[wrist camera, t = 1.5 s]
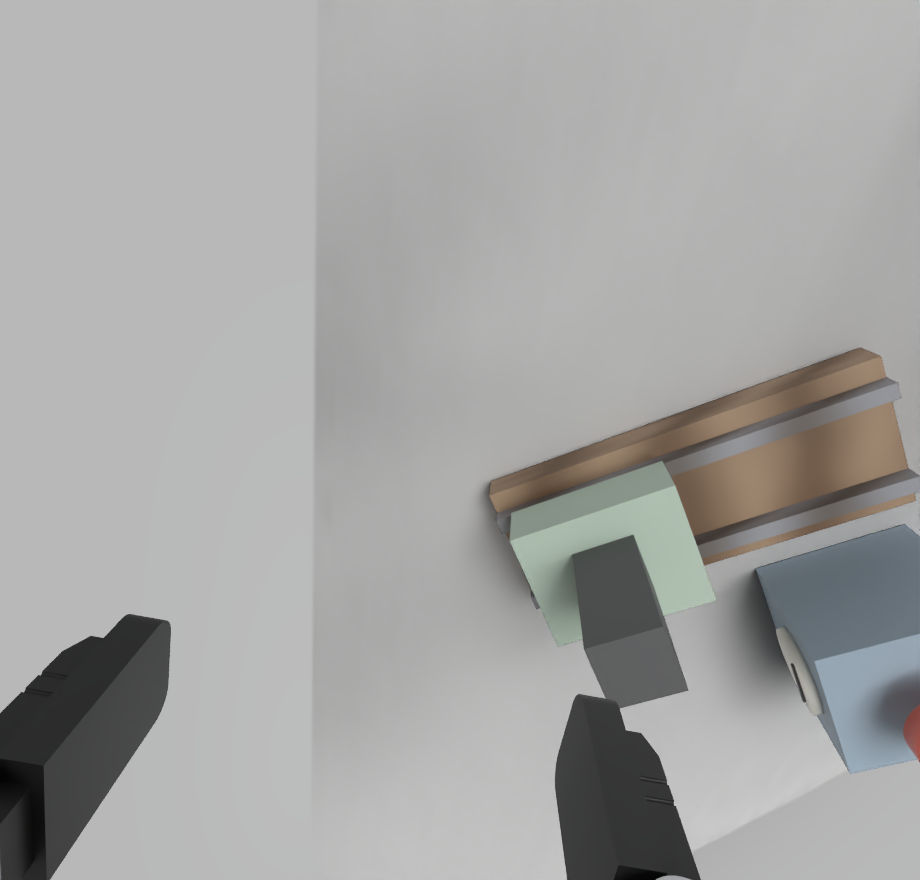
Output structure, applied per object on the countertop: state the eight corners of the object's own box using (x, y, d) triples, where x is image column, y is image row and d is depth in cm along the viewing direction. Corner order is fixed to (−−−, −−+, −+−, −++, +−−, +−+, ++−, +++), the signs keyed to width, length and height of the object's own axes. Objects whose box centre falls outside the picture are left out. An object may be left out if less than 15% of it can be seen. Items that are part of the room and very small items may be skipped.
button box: (904, 524, 35) (1008, 610, 27) (930, 626, 37) (1033, 733, 29) (746, 571, 37) (802, 664, 29) (778, 666, 38) (839, 776, 31)
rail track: (860, 347, 32) (892, 360, 29) (894, 484, 34) (927, 509, 31) (491, 481, 36) (487, 503, 33) (542, 594, 38) (543, 625, 36)
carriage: (662, 460, 31) (718, 567, 22) (700, 567, 33) (768, 707, 24) (511, 512, 33) (504, 631, 24) (555, 611, 35) (565, 758, 26)
